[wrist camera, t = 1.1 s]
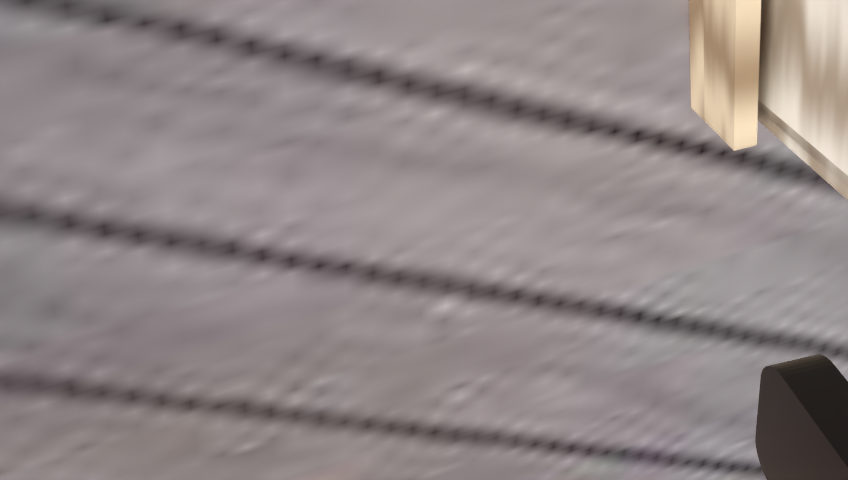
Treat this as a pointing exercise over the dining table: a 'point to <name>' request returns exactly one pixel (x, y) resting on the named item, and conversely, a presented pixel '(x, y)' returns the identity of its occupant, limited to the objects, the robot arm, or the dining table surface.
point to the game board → (775, 76)
